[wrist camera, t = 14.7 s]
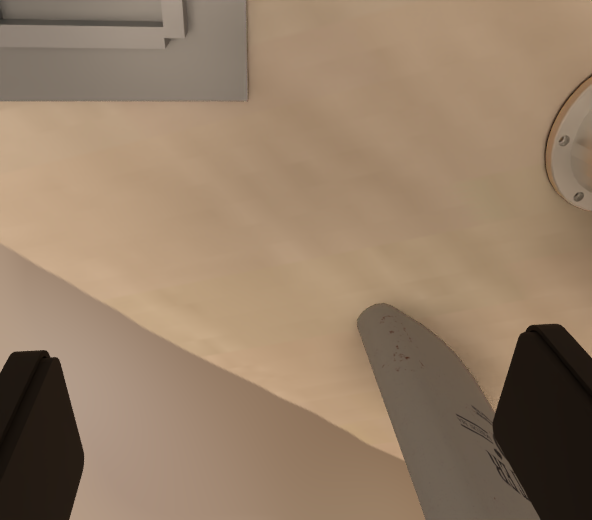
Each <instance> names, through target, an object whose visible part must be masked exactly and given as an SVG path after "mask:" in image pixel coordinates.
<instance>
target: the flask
mask: <svg viewBox="0 0 592 520" xmlns="http://www.w3.org/2000/svg"><path fill="white" fill-rule="evenodd" d="M357 327H358V330H359V333H360V336H361V338H362V341H363V344H364V347H365V350H366V353H367V355H368V358H369V361H370V364H371V367H372V369H373V372H374V375H375V378H376V381H377V384H378V386H379V389H380V392H381V395H382V398H383V400H384V403H385V406H386V409H387V412H388V414H389V417H390V420H391V423H392V426H393V429H394V431H395V434H396V437H397V440H398V443H399V445H400V448H401V451H402V454H403V457H404V459H405V462H406V465H407V468H408V471H409V473H410V476H411V479H412V482H413V485H414V487H415V490H416V493H417V496H418V499H419V502H420V505H421V507H422V510H423V513H424V515H425V519H426V520H540V518H539V516H538V514H537V512H536V511H535V509H534V507H533V505H532V503H531V502H530V500H529V498H528V496H527V495H526V493H525V491H524V489H523V487H522V486H521V484H520V482H519V480H518V478H517V477H516V475H515V473H514V471H513V469H512V468H511V466H510V464H509V462H508V460H507V459H506V457H505V455H504V453H503V452H502V450H501V448H500V446H499V444H498V443H497V441H496V439H495V437H494V433H493V419H494V416H495V412H494V411H493V409H492V407H491V405H490V404H489V402H488V400H487V399H486V397H485V395H484V394H483V392H482V390H481V388H480V387H479V385H478V383H477V382H476V380H475V379H474V377H473V376H472V375H471V373H470V372H469V371H468V369H467V368H466V367H465V365H464V364H463V363H462V361H461V360H460V359H459V357H458V356H457V355H456V354H455V353H454V352H453V351H452V350H451V349H450V348H449V347H448V346H447V345H446V344H445V343H444V342H443V341H442V340H441V339H440V338H438V337H437V336H436V335H435V334H433V333H432V332H431V331H430V330H428V329H427V328H426V327H425V326H423V325H422V324H420V323H418V322H417V321H415V320H414V319H412V318H410V317H409V316H407V315H406V314H404V313H402V312H401V311H399V310H398V309H396V308H394V307H393V306H391V305H387V304H384V303H383V304H375V305H373V306H371V307H369V308H367V309H366V310H365V311H363V312H362V314H361V315H360V316H359V318H358V319H357Z"/></svg>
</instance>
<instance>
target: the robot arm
mask: <svg viewBox="0 0 592 520" xmlns="http://www.w3.org/2000/svg"><path fill="white" fill-rule="evenodd" d="M546 170H547V173H548V176H549V180H550V182H551V184H552V186H553V187H554V189H555V191H556V192H557V193H558V194H559V195H560V196H561V197H562V198H563V199H565V200H566V201H568V202H569V203H570V204H572V205H573V206H576V207H578V208H580V209H583V210H586V211H592V76H591V77H590V78H589V79H588V80H586V81H585V82H584V83H583V84H582V85H581V86H580V87H579V88H578V89H577V90H576V91H575V92H574V93H573V94H572V95H571V96H570V98H569V99H568V101H567V102H566V103H565V105H564V106H563V108H562V109H561V111H560V112H559V114H558V116H557V118H556V120H555V122H554V124H553V126H552V129H551V132H550V135H549V138H548V142H547V149H546ZM493 433H494V437H495V439H496V441H497V443H498V444H499V446H500V448H501V450H502V452H503V453H504V455H505V457H506V459H507V460H508V462H509V464H510V466H511V468H512V469H513V471H514V473H515V475H516V477H517V478H518V480H519V482H520V484H521V486H522V487H523V489H524V491H525V493H526V495H527V496H528V498H529V500H530V502H531V503H532V505H533V507H534V509H535V511H536V512H537V514H538V516H539V518H540V520H592V358H591V357H590V356H589V355H588V354H587V352H586V351H585V350H584V349H583V348H582V347H581V346H580V345H579V344H578V343H577V341H576V340H575V339H574V338H573V337H572V336H571V335H570V334H569V333H568V332H567V330H566V329H565V328H564V327H562V326H561V325H559V324H543V325H531V326H529V327H528V328H527V330H526V332H524V333H521V334H520V336H519V338H518V341H517V344H516V348H515V351H514V354H513V357H512V361H511V364H510V367H509V370H508V374H507V377H506V380H505V383H504V387H503V390H502V393H501V396H500V400H499V403H498V406H497V409H496V413H495V416H494V419H493ZM83 466H84V452H83V448H82V444H81V440H80V436H79V432H78V429H77V425H76V421H75V417H74V413H73V409H72V406H71V402H70V398H69V394H68V390H67V387H66V383H65V379H64V376H63V371H62V368H61V364H60V361H59V359H58V358H56V357H53V358H50V356H49V353H48V352H47V351H45V350H40V351H23V352H22V351H21V352H13V353H12V354H11V355H10V356H9V358H8V360H7V362H6V363H5V365H4V367H3V369H2V371H1V373H0V520H69V518H70V515H71V511H72V508H73V504H74V500H75V497H76V493H77V489H78V486H79V483H80V479H81V475H82V471H83Z"/></svg>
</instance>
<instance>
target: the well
mask: <svg viewBox="0 0 592 520" xmlns="http://www.w3.org/2000/svg"><path fill="white" fill-rule="evenodd" d="M0 101H248V77H247V25H246V0H0Z"/></svg>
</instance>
